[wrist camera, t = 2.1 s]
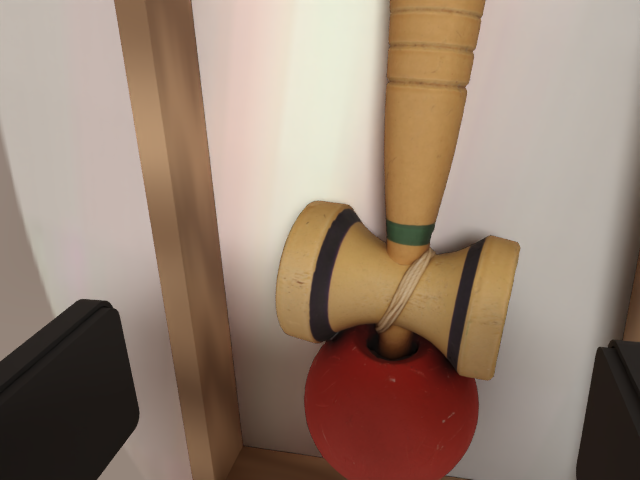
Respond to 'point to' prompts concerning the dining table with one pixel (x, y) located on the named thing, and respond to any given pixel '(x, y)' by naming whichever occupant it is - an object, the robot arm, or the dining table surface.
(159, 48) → the wooden frame
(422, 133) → the kendama
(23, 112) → the dining table surface
